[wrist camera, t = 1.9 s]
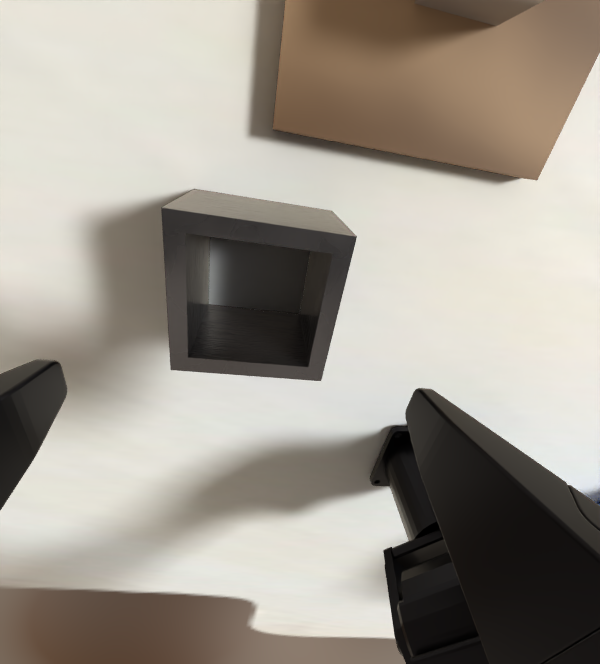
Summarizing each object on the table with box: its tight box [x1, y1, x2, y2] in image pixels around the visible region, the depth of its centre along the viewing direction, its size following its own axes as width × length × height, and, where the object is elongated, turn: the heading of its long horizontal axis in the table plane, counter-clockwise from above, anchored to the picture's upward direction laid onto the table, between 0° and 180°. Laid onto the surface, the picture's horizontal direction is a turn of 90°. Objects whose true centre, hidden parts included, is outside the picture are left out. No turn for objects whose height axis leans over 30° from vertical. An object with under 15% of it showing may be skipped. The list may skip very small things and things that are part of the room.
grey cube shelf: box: [162, 189, 357, 381], centre depth 14 cm, size 6×6×5 cm
